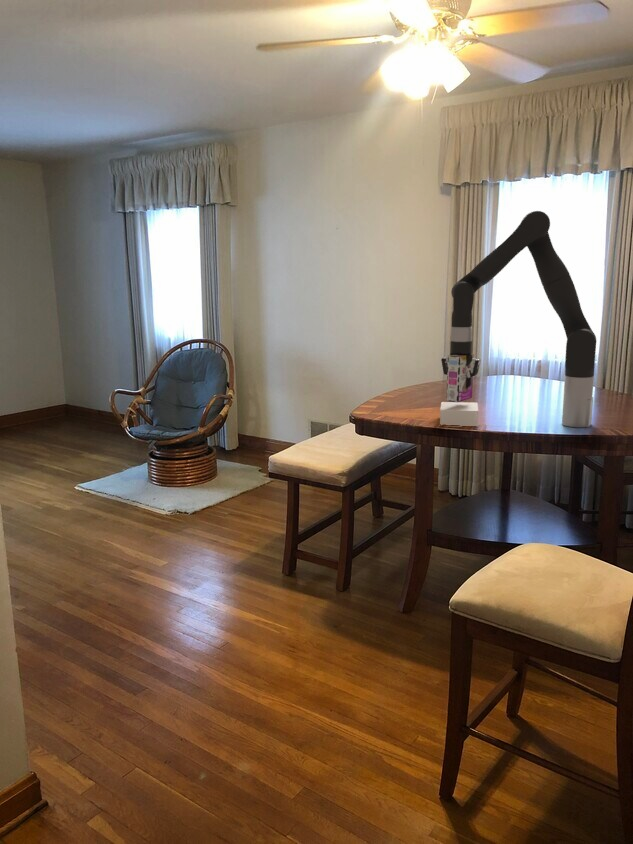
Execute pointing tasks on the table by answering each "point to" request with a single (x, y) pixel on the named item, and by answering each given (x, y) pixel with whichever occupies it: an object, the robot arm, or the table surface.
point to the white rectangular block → (459, 413)
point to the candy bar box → (458, 379)
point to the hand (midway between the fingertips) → (460, 386)
